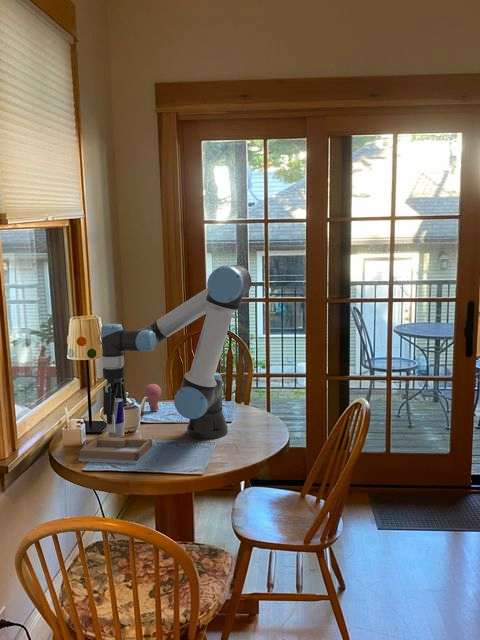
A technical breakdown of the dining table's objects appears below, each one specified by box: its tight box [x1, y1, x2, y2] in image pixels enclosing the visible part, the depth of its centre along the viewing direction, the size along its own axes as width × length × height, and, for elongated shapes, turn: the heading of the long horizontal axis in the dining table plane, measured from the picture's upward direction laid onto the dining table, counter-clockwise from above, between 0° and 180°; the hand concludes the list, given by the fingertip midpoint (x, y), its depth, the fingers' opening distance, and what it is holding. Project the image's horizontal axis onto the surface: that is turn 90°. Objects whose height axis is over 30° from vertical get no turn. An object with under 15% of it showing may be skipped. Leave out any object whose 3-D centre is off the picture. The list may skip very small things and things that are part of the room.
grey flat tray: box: [78, 436, 154, 465], centre depth 194 cm, size 20×16×3 cm
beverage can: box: [108, 398, 126, 438], centre depth 208 cm, size 6×6×15 cm
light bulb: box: [144, 383, 162, 412], centre depth 244 cm, size 7×7×12 cm
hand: (116, 428), depth 208 cm, fingers open, 8 cm apart
